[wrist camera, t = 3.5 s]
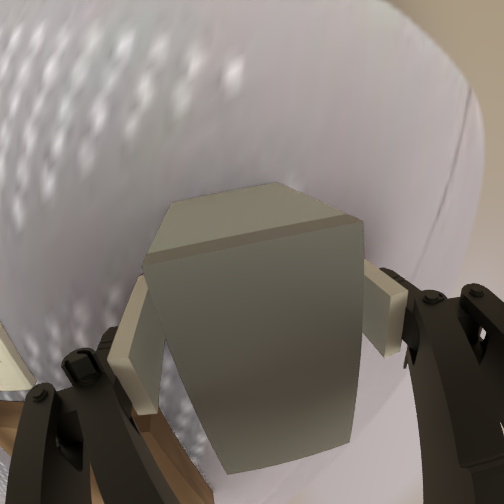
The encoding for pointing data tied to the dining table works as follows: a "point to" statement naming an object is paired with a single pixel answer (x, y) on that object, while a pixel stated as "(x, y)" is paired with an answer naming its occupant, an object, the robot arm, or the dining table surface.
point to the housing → (262, 319)
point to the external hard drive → (12, 367)
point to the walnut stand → (158, 441)
